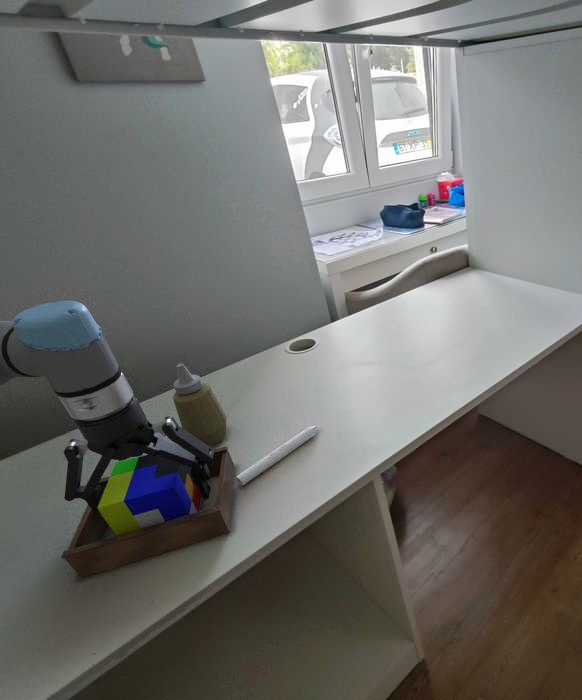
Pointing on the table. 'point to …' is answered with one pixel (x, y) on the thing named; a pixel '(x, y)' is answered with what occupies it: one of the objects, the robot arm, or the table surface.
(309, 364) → the table surface
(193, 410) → the squeeze bottle
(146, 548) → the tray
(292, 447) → the marker
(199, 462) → the robot arm
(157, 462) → the puzzle toy
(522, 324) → the table surface
